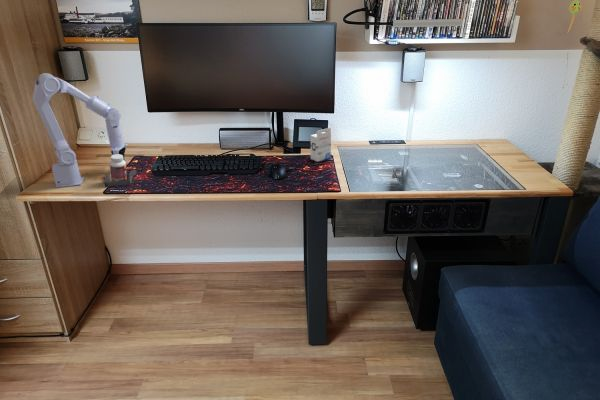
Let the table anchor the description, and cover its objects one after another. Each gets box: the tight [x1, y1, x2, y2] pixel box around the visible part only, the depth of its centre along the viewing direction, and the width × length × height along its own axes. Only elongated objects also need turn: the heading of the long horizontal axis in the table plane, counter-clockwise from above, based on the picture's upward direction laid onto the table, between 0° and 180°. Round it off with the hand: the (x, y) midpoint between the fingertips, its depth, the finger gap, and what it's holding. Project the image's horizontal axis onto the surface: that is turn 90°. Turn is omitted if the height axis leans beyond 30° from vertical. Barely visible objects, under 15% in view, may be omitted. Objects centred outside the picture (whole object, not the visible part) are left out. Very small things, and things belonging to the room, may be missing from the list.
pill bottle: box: [109, 154, 128, 181], centre depth 181 cm, size 6×6×11 cm
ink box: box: [310, 127, 332, 163], centre depth 203 cm, size 9×5×15 cm, turn 126°
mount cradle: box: [103, 169, 138, 188], centre depth 185 cm, size 13×12×2 cm
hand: (121, 164), depth 194 cm, fingers closed
